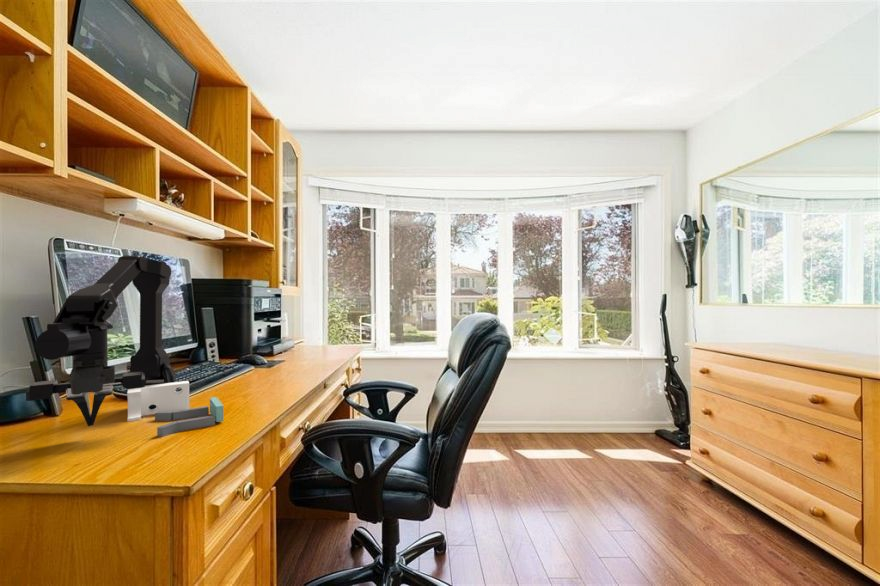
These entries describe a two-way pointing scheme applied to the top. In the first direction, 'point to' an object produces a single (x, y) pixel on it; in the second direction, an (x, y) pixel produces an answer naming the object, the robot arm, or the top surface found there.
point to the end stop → (216, 409)
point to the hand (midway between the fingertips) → (90, 425)
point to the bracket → (157, 399)
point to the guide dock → (183, 424)
